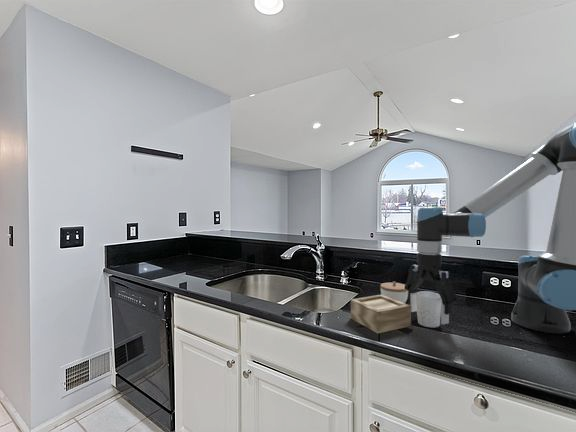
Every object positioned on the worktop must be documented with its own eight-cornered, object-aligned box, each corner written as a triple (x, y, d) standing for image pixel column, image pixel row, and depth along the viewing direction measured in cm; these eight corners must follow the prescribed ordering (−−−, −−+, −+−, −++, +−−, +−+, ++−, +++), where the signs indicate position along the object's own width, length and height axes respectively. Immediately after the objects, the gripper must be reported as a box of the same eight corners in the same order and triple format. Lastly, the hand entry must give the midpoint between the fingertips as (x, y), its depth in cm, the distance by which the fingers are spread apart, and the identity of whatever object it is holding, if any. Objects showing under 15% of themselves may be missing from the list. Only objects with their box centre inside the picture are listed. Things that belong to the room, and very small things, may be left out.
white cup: (411, 319, 104) (411, 291, 104) (433, 319, 105) (433, 290, 105) (423, 328, 96) (423, 298, 96) (446, 328, 97) (447, 297, 97)
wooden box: (410, 326, 99) (411, 305, 99) (377, 333, 93) (377, 311, 93) (381, 312, 111) (381, 294, 111) (350, 318, 106) (350, 299, 106)
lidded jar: (407, 302, 124) (407, 279, 124) (409, 310, 114) (409, 286, 113) (380, 299, 127) (380, 277, 127) (379, 307, 117) (379, 283, 117)
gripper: (471, 257, 91) (470, 328, 91) (409, 248, 112) (409, 304, 113) (454, 259, 88) (453, 332, 88) (394, 249, 109) (394, 307, 110)
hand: (428, 317), depth 101 cm, fingers open, 12 cm apart
